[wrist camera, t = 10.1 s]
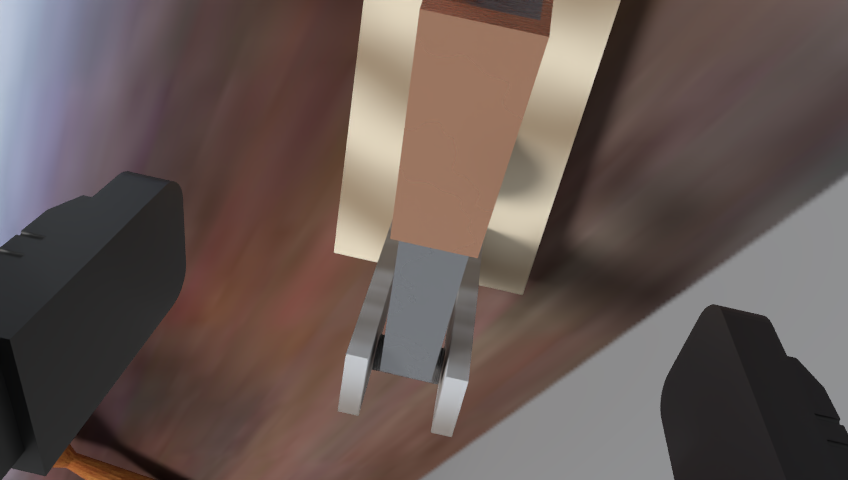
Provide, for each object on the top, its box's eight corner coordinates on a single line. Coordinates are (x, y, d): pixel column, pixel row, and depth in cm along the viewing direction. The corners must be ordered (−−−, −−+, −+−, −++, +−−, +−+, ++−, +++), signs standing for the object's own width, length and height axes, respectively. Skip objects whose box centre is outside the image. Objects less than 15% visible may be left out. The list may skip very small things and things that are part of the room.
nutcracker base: (396, -209, 24) (300, -237, 14) (663, -153, 23) (765, -139, 13) (340, 237, 35) (265, 403, 25) (522, 277, 34) (521, 461, 24)
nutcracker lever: (451, 307, 28) (434, 402, 25) (392, 294, 28) (368, 387, 25) (566, -77, 14) (554, 37, 12) (451, -102, 14) (414, 8, 12)
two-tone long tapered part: (166, 567, 48) (-109, 448, 42) (201, 491, 53) (-45, 372, 46) (197, 554, 45) (-100, 420, 38) (232, 473, 49) (-30, 341, 42)
